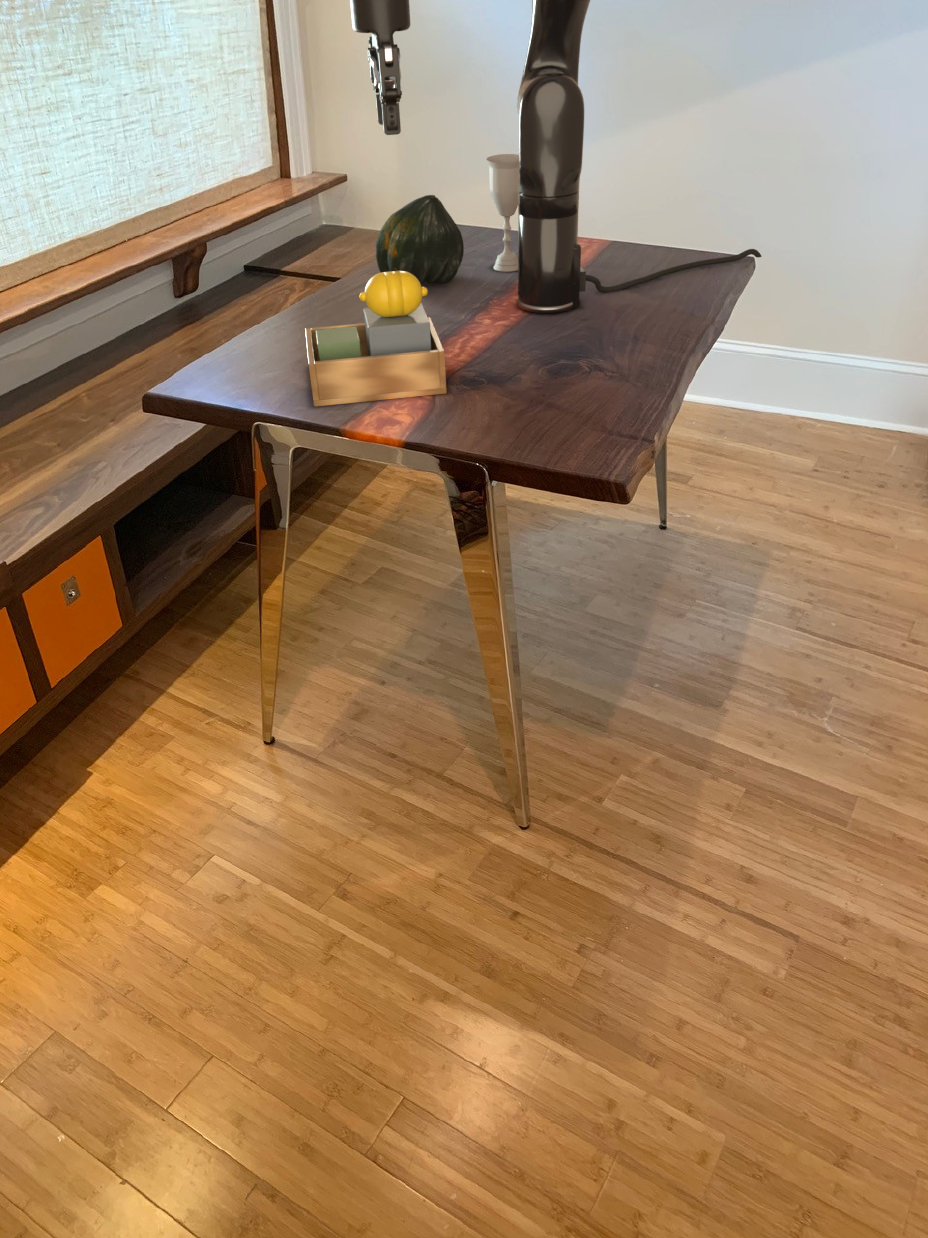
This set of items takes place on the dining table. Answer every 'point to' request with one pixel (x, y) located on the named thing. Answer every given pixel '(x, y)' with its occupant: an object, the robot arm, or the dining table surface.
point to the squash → (421, 242)
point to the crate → (375, 372)
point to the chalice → (505, 201)
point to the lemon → (393, 293)
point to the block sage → (338, 343)
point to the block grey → (397, 333)
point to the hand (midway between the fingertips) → (389, 128)
